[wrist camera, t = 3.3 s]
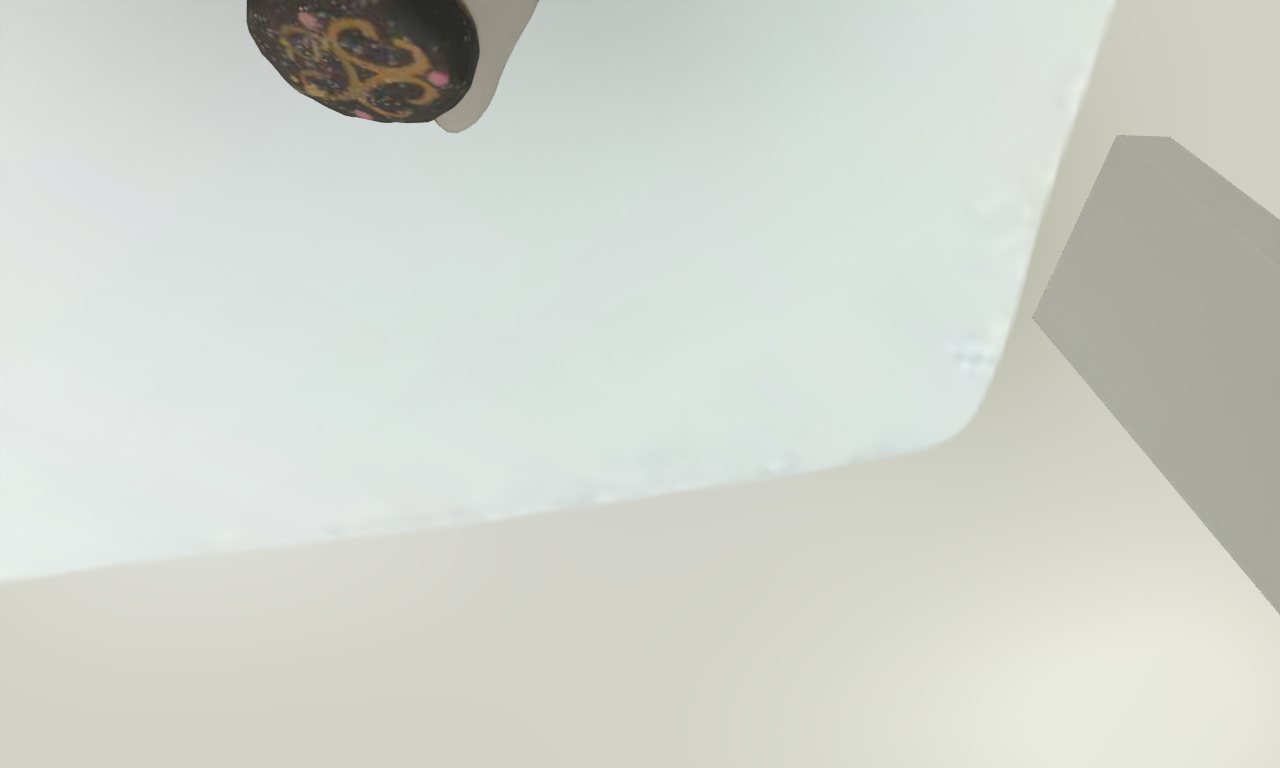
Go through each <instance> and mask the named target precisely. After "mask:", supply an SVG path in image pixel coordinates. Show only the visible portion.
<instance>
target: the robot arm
mask: <svg viewBox="0 0 1280 768" xmlns="http://www.w3.org/2000/svg"><path fill="white" fill-rule="evenodd" d="M1032 318H1033V319H1034V321H1035V322H1036V323H1037V324H1038V325H1039V326H1040V328H1041V329H1042V330H1043V331H1044V332H1045V334H1046V335H1047V336H1048V337H1049V339H1050V340H1051V341H1052V342H1053V343H1054V345H1055V346H1056V347H1057V348H1058V349H1059V350H1060V352H1061V353H1062V354H1063V355H1064V357H1065V358H1066V359H1067V360H1068V361H1069V362H1070V364H1071V365H1072V366H1073V367H1074V369H1075V370H1076V371H1077V372H1078V373H1079V375H1080V376H1081V377H1082V378H1083V379H1084V380H1085V382H1086V383H1087V384H1088V385H1089V386H1090V388H1091V389H1092V390H1093V391H1094V392H1095V393H1096V395H1097V396H1098V397H1099V398H1100V400H1101V401H1102V402H1103V403H1104V404H1105V406H1106V407H1107V408H1108V409H1109V410H1110V412H1111V413H1112V414H1113V415H1114V416H1115V418H1116V419H1117V420H1118V421H1119V422H1120V424H1121V425H1122V426H1123V427H1124V428H1125V430H1126V431H1127V432H1128V433H1129V434H1130V436H1131V437H1132V438H1133V439H1134V440H1135V442H1136V443H1137V444H1138V445H1139V446H1140V447H1141V448H1142V450H1143V451H1144V452H1145V454H1146V455H1147V456H1148V457H1149V458H1150V460H1151V461H1152V462H1153V463H1154V464H1155V466H1156V467H1157V468H1158V469H1159V470H1160V472H1161V473H1162V474H1163V475H1164V476H1165V477H1166V479H1167V480H1168V481H1169V482H1170V484H1171V485H1172V486H1173V487H1174V488H1175V489H1176V491H1177V492H1178V493H1179V494H1180V496H1181V497H1182V498H1183V499H1184V500H1185V501H1186V503H1187V504H1188V505H1189V506H1190V507H1191V509H1192V510H1193V511H1194V512H1195V513H1196V515H1197V516H1198V517H1199V518H1200V519H1201V521H1202V522H1203V523H1204V524H1205V525H1206V527H1207V528H1208V529H1209V530H1210V531H1211V533H1212V534H1213V535H1214V536H1215V537H1216V538H1217V540H1218V541H1219V542H1220V543H1221V545H1222V546H1223V547H1224V548H1225V549H1226V551H1227V552H1228V553H1229V554H1230V555H1231V557H1232V558H1233V559H1234V560H1235V561H1236V562H1237V564H1238V565H1239V566H1240V567H1241V569H1242V570H1243V571H1244V572H1245V573H1246V574H1247V576H1248V577H1249V578H1250V579H1251V580H1252V582H1253V583H1254V584H1255V585H1256V587H1257V588H1258V589H1259V590H1260V591H1261V592H1262V594H1263V595H1264V596H1265V597H1266V599H1267V600H1268V601H1269V602H1270V603H1271V605H1272V606H1273V607H1274V608H1275V609H1276V611H1277V612H1278V613H1279V614H1280V220H1279V219H1278V218H1277V217H1275V216H1274V215H1273V214H1271V213H1270V212H1269V211H1267V210H1266V209H1265V208H1263V207H1262V206H1261V205H1259V204H1258V203H1257V202H1255V201H1254V200H1253V199H1251V198H1250V197H1249V196H1248V195H1246V194H1245V193H1244V192H1242V191H1241V190H1240V189H1238V188H1237V187H1236V186H1234V185H1233V184H1232V183H1230V182H1229V181H1228V180H1226V179H1225V178H1224V177H1222V176H1221V175H1220V174H1218V173H1217V172H1216V171H1215V170H1213V169H1212V168H1210V167H1209V166H1208V165H1207V164H1205V163H1204V162H1202V161H1201V160H1200V159H1198V158H1197V157H1196V156H1195V155H1193V154H1192V153H1190V152H1189V151H1188V150H1187V149H1185V148H1184V147H1183V146H1181V145H1180V144H1179V143H1177V142H1176V141H1175V140H1174V139H1172V138H1171V137H1157V136H1125V135H1117V136H1116V138H1115V141H1114V143H1113V145H1112V147H1111V149H1110V151H1109V153H1108V156H1107V158H1106V160H1105V162H1104V164H1103V166H1102V169H1101V171H1100V173H1099V175H1098V177H1097V180H1096V182H1095V184H1094V186H1093V188H1092V190H1091V192H1090V194H1089V197H1088V199H1087V201H1086V203H1085V205H1084V207H1083V209H1082V212H1081V214H1080V216H1079V218H1078V220H1077V222H1076V225H1075V227H1074V229H1073V231H1072V233H1071V236H1070V238H1069V240H1068V242H1067V244H1066V246H1065V248H1064V250H1063V252H1062V255H1061V257H1060V259H1059V261H1058V263H1057V265H1056V268H1055V270H1054V272H1053V274H1052V276H1051V278H1050V280H1049V283H1048V285H1047V287H1046V289H1045V291H1044V293H1043V296H1042V298H1041V300H1040V302H1039V304H1038V307H1037V308H1036V311H1035V313H1034V315H1033V317H1032Z"/></svg>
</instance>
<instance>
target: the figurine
mask: <svg viewBox="0 0 1280 768" xmlns="http://www.w3.org/2000/svg"><path fill="white" fill-rule="evenodd" d="M538 1H539V0H247V25H248V29H249V33H250V34H251V36H252V38H253V39H254V41H255V43H256V45H257V46H258V48H259V50H260V51H261V53H262V55H263V56H264V57H265V58H266V59H267V60H268V61H269V62H270V63H271V64H272V65H273V66H274V67H275V69H276V70H277V71H278V72H279V73H280V75H281V76H282V77H283V78H284V79H285V80H286V81H287V82H288V83H289V84H290V85H291V86H292V87H293V88H294V89H295V90H297V91H298V92H299V93H301V94H303V95H305V96H308V97H310V98H312V99H314V100H315V101H317V102H319V103H321V104H322V105H324V106H326V107H328V108H330V109H332V110H334V111H336V112H339V113H341V114H343V115H345V116H350V117H359V118H363V119H368V120H372V121H377V122H383V123H391V122H401V123H422V122H429V121H432V120H435V121H436V123H437V124H438V125H439V126H440V127H442V128H443V129H444V130H445V131H447V132H450V133H458V132H461V131H463V130H465V129H467V128H468V127H470V126H471V125H473V124H474V123H476V122H477V121H478V120H479V118H480V117H481V116H482V114H483V113H484V112H485V111H486V109H487V108H488V106H489V104H490V102H491V100H492V98H493V96H494V94H495V91H496V88H497V85H498V83H499V80H500V77H501V75H502V72H503V70H504V67H505V65H506V62H507V60H508V58H509V56H510V54H511V52H512V50H513V48H514V47H515V45H516V43H517V41H518V39H519V37H520V36H521V34H522V32H523V30H524V29H525V27H526V25H527V24H528V22H529V20H530V18H531V16H532V14H533V12H534V10H535V8H536V6H537V3H538Z"/></svg>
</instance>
